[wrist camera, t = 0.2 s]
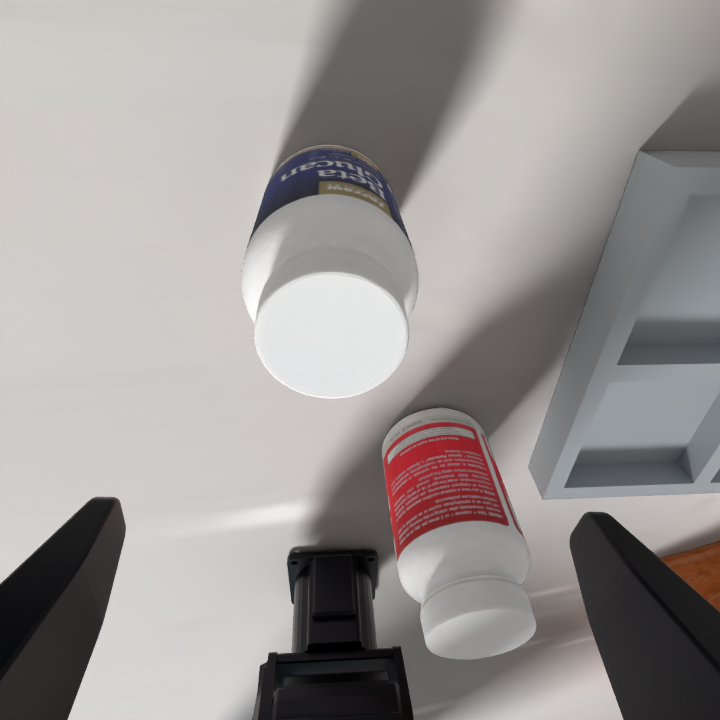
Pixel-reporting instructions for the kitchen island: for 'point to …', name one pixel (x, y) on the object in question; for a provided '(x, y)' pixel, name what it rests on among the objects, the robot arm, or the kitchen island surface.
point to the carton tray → (645, 347)
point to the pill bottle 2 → (456, 536)
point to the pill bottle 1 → (330, 275)
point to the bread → (699, 570)
